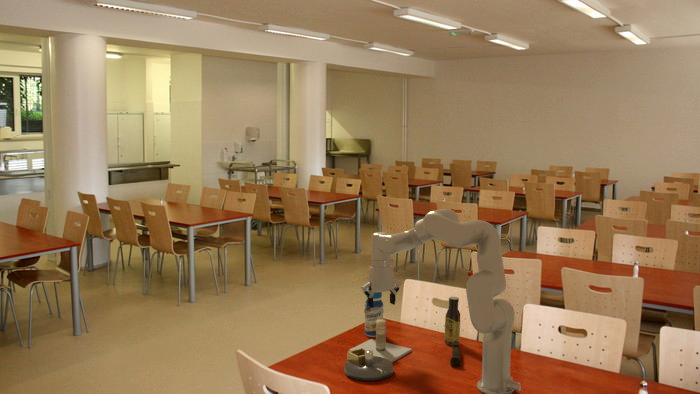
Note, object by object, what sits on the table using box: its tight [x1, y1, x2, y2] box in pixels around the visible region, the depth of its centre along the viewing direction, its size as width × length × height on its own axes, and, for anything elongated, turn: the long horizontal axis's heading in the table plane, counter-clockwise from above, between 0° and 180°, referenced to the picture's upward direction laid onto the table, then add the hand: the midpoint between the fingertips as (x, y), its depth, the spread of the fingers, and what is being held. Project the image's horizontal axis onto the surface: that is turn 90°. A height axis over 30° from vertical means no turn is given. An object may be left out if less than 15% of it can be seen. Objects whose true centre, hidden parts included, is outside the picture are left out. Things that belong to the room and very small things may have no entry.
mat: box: [348, 338, 413, 363], centre depth 251 cm, size 20×16×1 cm
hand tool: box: [449, 341, 462, 368], centre depth 244 cm, size 19×4×5 cm, turn 168°
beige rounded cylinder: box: [375, 318, 387, 351], centre depth 250 cm, size 4×4×12 cm
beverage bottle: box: [363, 288, 385, 338], centre depth 271 cm, size 8×8×20 cm
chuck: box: [344, 348, 394, 382], centre depth 230 cm, size 18×18×8 cm
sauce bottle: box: [443, 296, 461, 346], centre depth 260 cm, size 6×6×20 cm
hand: (381, 305), depth 249 cm, fingers open, 9 cm apart
